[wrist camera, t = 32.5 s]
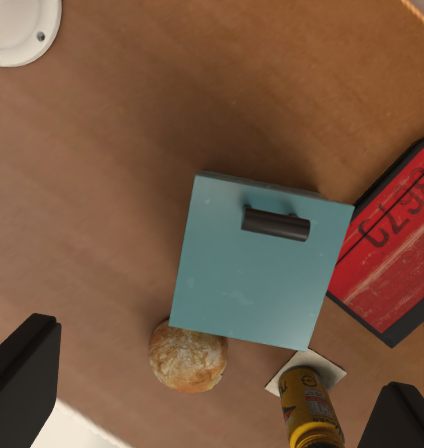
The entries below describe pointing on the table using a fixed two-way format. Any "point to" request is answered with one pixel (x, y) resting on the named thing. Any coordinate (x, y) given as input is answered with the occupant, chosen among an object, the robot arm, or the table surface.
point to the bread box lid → (256, 262)
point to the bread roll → (187, 358)
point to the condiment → (309, 400)
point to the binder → (386, 253)
